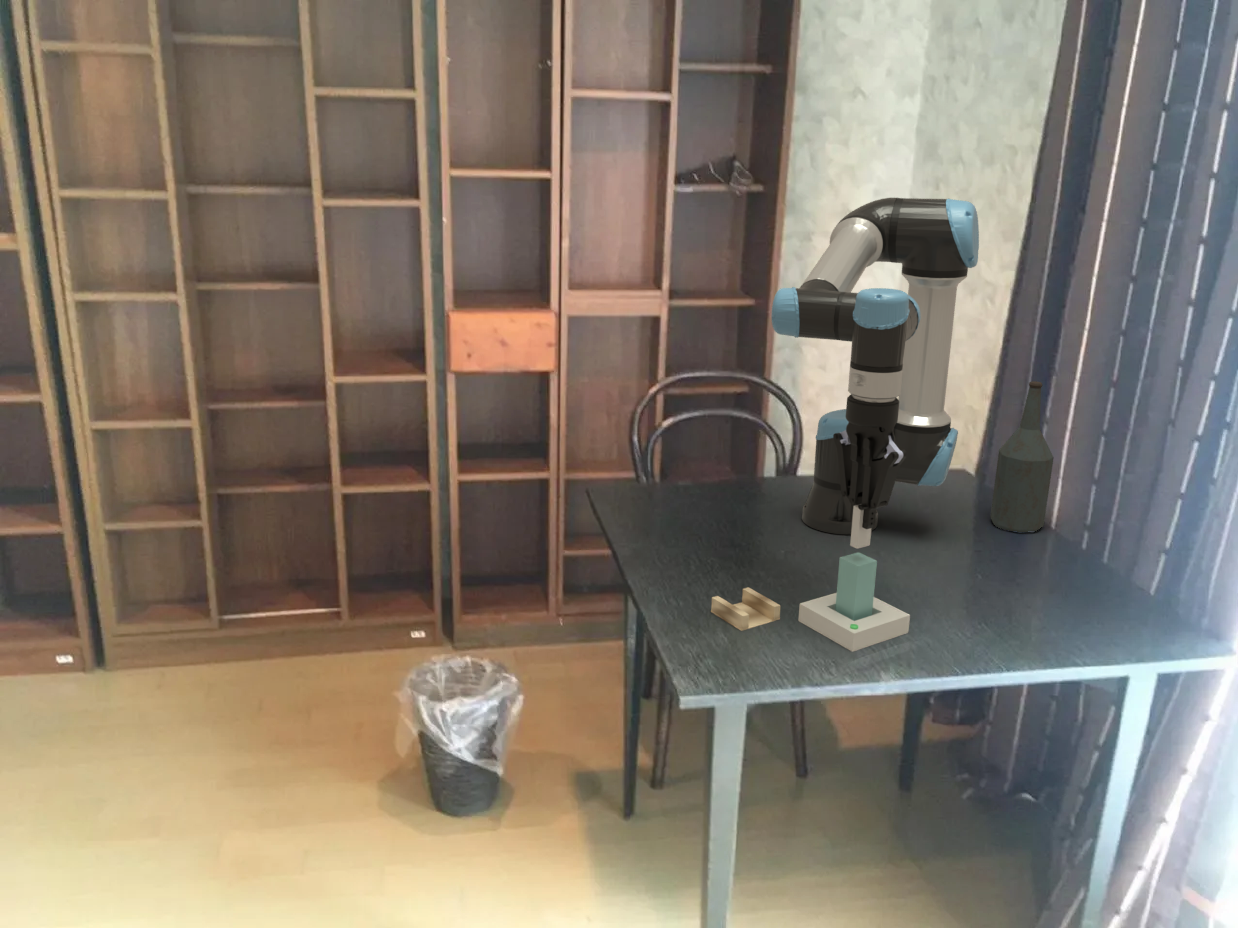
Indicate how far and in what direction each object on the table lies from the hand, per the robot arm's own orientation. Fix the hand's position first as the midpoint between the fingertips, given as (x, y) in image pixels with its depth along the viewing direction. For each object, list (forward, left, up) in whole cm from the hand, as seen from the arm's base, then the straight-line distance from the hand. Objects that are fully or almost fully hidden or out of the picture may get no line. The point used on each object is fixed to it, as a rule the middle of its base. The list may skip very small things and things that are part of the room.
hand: (860, 545), depth 157 cm
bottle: (-18, +64, -16) cm, 68 cm away
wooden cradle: (-12, -12, -15) cm, 23 cm away
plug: (0, 0, -14) cm, 14 cm away
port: (0, 0, -15) cm, 15 cm away
